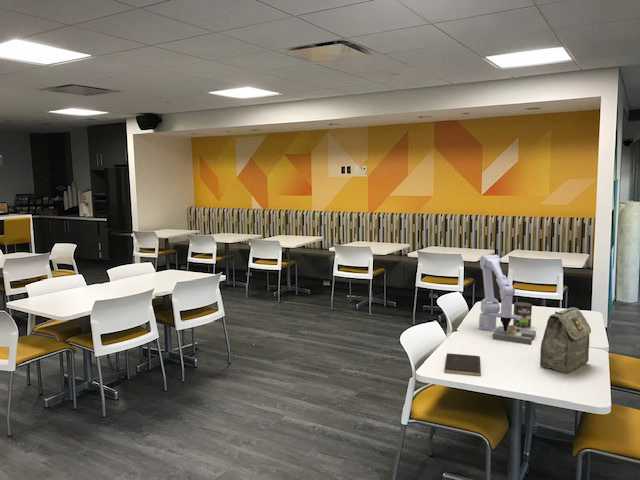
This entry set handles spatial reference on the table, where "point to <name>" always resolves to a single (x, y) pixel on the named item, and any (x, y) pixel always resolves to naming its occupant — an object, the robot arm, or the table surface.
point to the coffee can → (522, 315)
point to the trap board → (519, 337)
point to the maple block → (512, 329)
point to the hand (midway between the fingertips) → (505, 330)
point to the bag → (565, 341)
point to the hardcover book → (463, 364)
